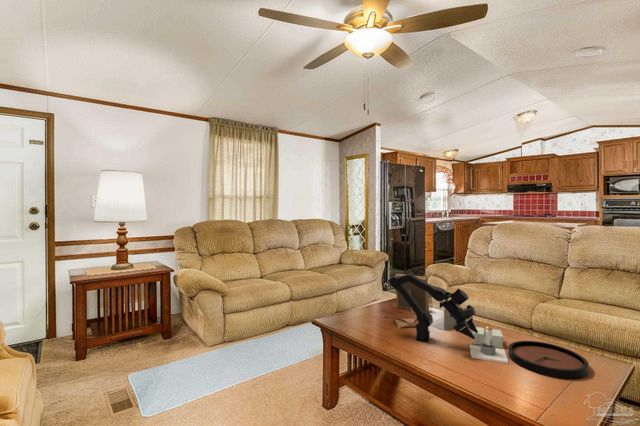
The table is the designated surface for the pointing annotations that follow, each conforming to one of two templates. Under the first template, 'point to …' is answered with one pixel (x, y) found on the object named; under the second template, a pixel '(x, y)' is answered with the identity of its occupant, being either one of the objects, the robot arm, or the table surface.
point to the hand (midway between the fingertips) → (475, 335)
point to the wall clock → (548, 359)
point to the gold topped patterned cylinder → (488, 336)
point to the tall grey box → (414, 295)
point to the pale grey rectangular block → (444, 321)
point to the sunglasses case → (405, 323)
